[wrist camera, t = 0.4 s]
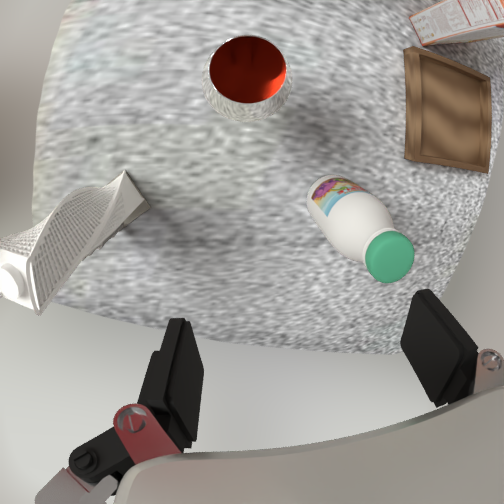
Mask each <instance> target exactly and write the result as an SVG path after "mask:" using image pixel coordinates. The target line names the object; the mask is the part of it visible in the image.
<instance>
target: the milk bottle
mask: <svg viewBox="0 0 504 504" xmlns="http://www.w3.org/2000/svg"><path fill="white" fill-rule="evenodd" d="M307 208H308V211H309V213H310V215H311V217H312V218H313V220H314V221H315V223H316V224H317V225H318V227H319V228H320V230H321V231H322V233H323V234H324V235H325V237H326V238H327V239H328V241H329V242H330V243H331V245H332V246H333V247H334V248H335V249H336V250H337V251H338V252H339V253H340V254H341V255H343V256H344V257H346V258H348V259H351V260H353V261H357V262H363V263H364V265H365V267H366V268H367V269H368V271H369V272H370V274H371V275H372V276H373V277H374V278H375V279H376V280H378V281H380V282H382V283H392V282H395V281H398V280H399V279H401V278H402V277H404V276H405V275H406V274H407V272H408V271H409V270H410V268H411V266H412V264H413V261H414V248H413V245H412V243H411V242H410V240H409V239H408V238H407V237H405V236H404V235H403V234H401V233H400V232H399V231H398V230H396V229H394V225H393V220H392V217H391V215H390V213H389V211H388V209H387V208H386V207H385V205H384V204H383V203H382V202H381V201H380V200H379V199H378V198H376V197H375V196H374V195H372V194H371V193H369V192H368V191H366V190H365V189H363V188H361V187H360V186H358V185H356V184H355V183H353V182H351V181H350V180H348V179H346V178H344V177H342V176H338V175H327V176H324V177H322V178H320V179H318V180H317V181H316V182H315V183H314V184H313V185H312V186H311V188H310V190H309V192H308V195H307Z"/></svg>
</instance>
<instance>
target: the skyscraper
mask: <svg viewBox="0 0 504 504" xmlns="http://www.w3.org/2000/svg"><path fill="white" fill-rule="evenodd" d="M150 208H151V207H150V205H149V204H148V202H147V201H146V200H145V198H144V197H143V195H142V194H141V192H140V191H139V190H138V188H137V187H136V185H135V184H134V182H133V181H132V179H131V178H130V176H129V175H128V174H127V172H126V170H124V171H123V172H122V173H120V174H119V175H118V176H117V177H116V178H114V179H113V180H112V181H111V182H110V183H109V184H107V185H106V186H104V187H101V188H98V187H85V188H80V189H77V190H75V191H73V192H72V193H70V194H69V195H67V196H66V197H65V198H64V199H63V200H62V201H61V202H60V203H59V204H58V205H57V206H56V207H55V209H54V210H53V212H52V213H51V214H50V215H49V216H48V217H47V218H45V219H44V220H43V221H42V222H40V223H39V224H37V225H36V226H34V227H33V228H32V229H30V230H26V231H22V232H19V233H16V234H12V235H9V236H6V237H2V238H0V298H1V297H5V298H7V299H10V300H12V301H14V302H16V303H19V304H21V305H23V306H26V307H28V308H30V309H33V310H34V311H35V313H36V314H37V315H38V316H39V315H41V314H42V313H43V311H44V310H45V309H46V307H47V306H48V305H49V303H50V302H51V301H52V299H53V298H54V297H55V295H56V294H57V293H58V291H59V290H60V289H61V287H62V286H63V285H64V283H65V282H66V281H67V280H68V278H69V277H70V276H71V274H72V273H73V272H74V270H75V269H76V268H77V266H78V265H79V264H80V262H81V261H83V260H84V259H85V258H86V257H87V256H91V255H92V253H93V252H94V251H95V250H96V249H101V248H102V247H103V246H104V244H105V243H106V242H107V241H108V240H109V239H111V238H113V237H114V236H115V235H116V234H117V232H119V231H120V230H122V229H123V228H124V227H126V226H127V225H128V224H130V223H131V222H132V221H133V220H135V219H136V218H137V217H139V216H140V215H142V214H143V213H144V212H146V211H147V210H148V209H150Z"/></svg>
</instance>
